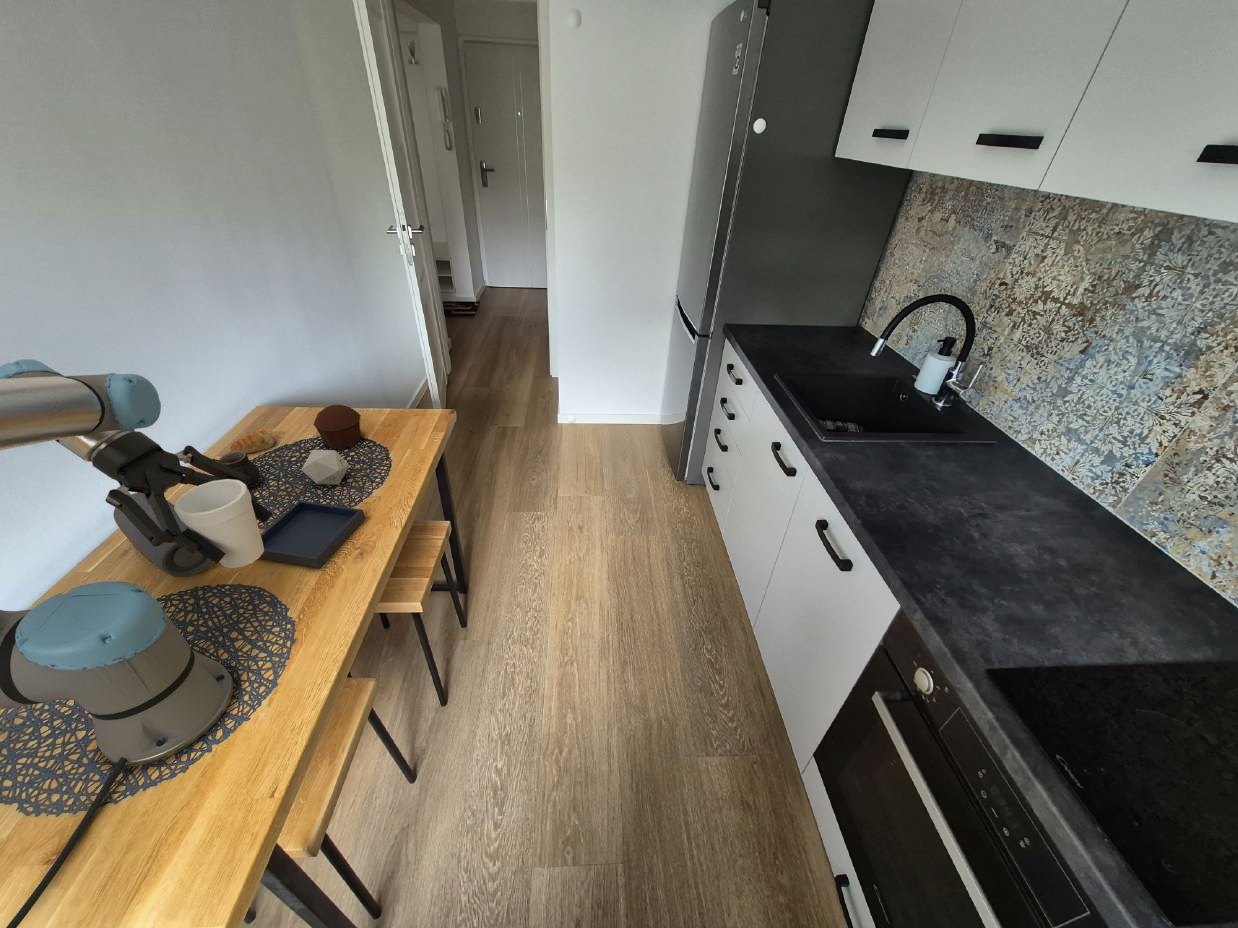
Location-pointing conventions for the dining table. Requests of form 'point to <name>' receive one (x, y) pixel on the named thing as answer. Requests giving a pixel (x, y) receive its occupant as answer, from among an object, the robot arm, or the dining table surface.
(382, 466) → the dining table surface
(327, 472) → the die
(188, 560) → the bluetooth speaker
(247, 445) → the pastry
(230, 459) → the dark brown pitcher
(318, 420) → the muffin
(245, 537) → the foam cup
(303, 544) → the tray
